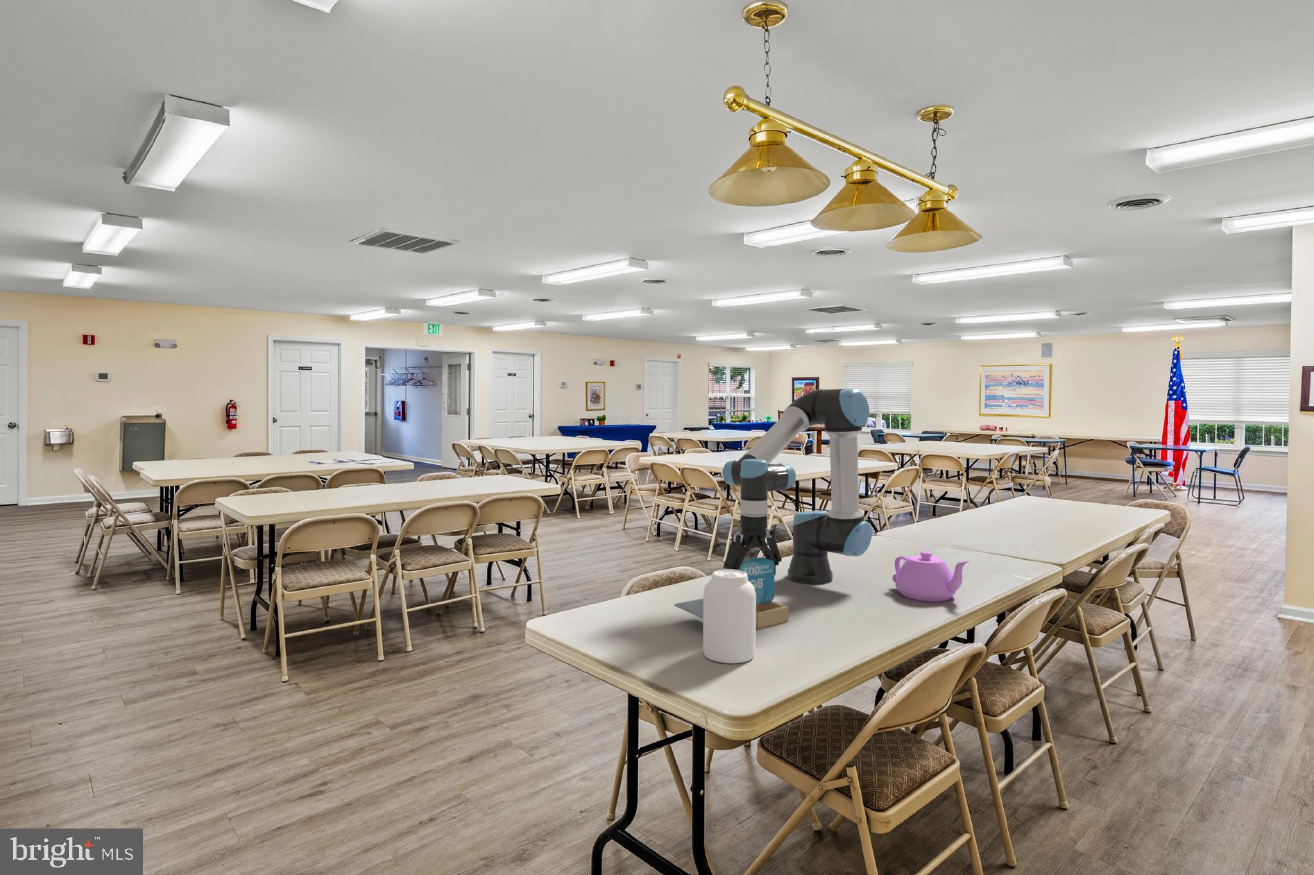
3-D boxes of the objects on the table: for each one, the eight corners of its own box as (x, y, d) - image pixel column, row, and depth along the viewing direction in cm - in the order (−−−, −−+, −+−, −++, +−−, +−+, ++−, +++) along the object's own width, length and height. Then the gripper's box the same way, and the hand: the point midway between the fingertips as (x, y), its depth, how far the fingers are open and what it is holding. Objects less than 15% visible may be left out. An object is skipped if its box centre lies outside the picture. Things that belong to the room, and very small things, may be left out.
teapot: (877, 592, 217) (877, 549, 216) (907, 582, 228) (907, 542, 227) (953, 610, 197) (954, 564, 197) (981, 599, 209) (983, 555, 208)
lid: (706, 599, 193) (706, 585, 193) (745, 615, 179) (745, 600, 179) (674, 605, 187) (674, 591, 187) (712, 622, 173) (712, 606, 173)
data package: (741, 607, 186) (741, 564, 186) (730, 603, 190) (731, 561, 190) (774, 601, 193) (774, 559, 192) (764, 597, 196) (764, 556, 196)
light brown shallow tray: (747, 605, 202) (748, 592, 202) (788, 621, 188) (788, 606, 187) (718, 611, 196) (718, 598, 196) (758, 628, 182) (758, 613, 181)
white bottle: (760, 664, 157) (761, 578, 156) (707, 665, 156) (707, 579, 155) (749, 644, 169) (749, 565, 168) (699, 646, 168) (699, 566, 167)
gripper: (776, 509, 200) (775, 581, 201) (711, 516, 187) (710, 593, 188) (795, 512, 194) (794, 587, 195) (728, 520, 180) (727, 600, 181)
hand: (753, 590), depth 191 cm, fingers closed on data package, 12 cm apart
